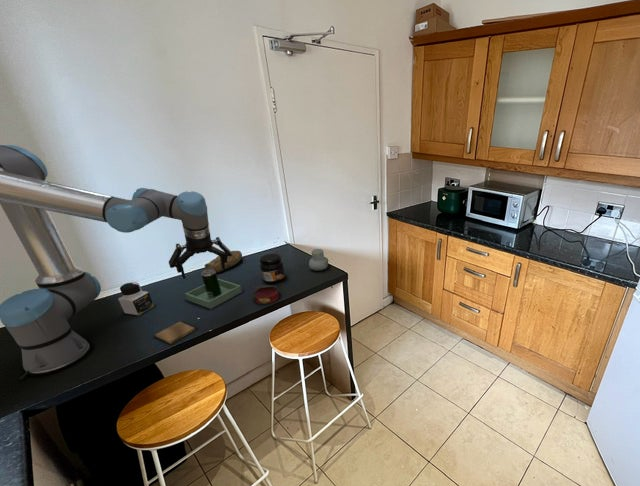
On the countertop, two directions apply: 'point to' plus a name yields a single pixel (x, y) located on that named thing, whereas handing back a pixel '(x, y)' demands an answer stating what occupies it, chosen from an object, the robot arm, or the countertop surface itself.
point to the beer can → (211, 283)
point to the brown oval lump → (231, 261)
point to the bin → (204, 300)
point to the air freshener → (318, 260)
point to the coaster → (175, 332)
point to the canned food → (266, 294)
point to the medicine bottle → (134, 299)
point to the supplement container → (272, 268)
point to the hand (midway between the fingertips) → (204, 271)
